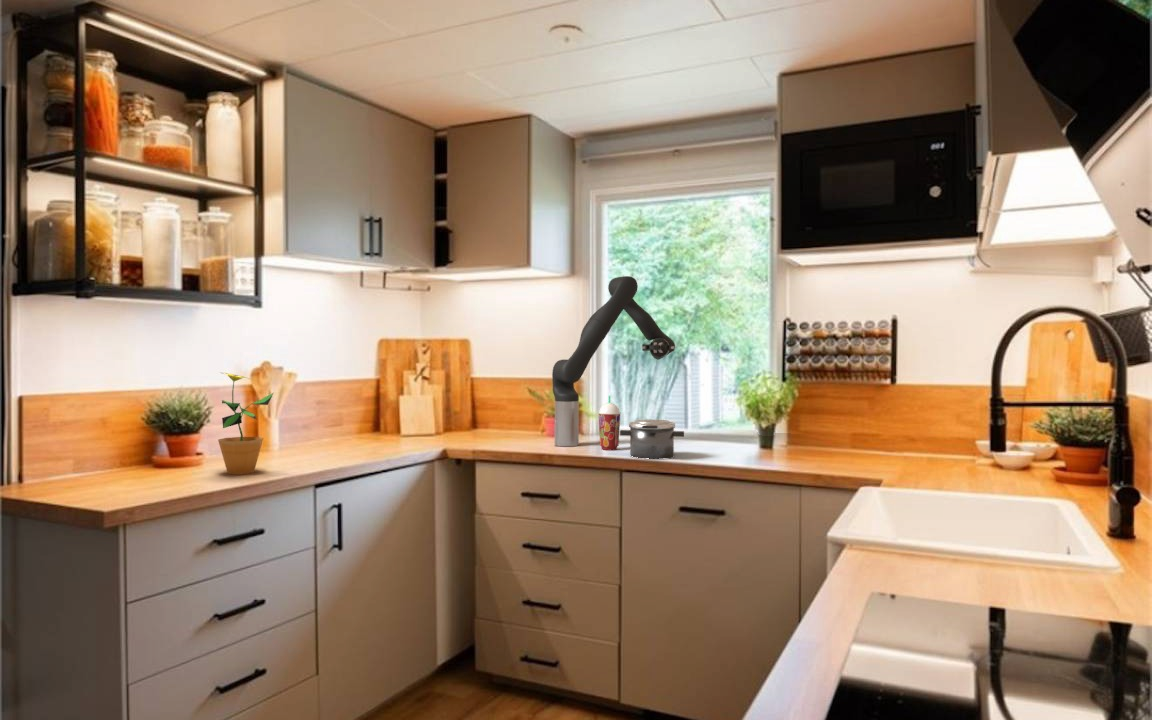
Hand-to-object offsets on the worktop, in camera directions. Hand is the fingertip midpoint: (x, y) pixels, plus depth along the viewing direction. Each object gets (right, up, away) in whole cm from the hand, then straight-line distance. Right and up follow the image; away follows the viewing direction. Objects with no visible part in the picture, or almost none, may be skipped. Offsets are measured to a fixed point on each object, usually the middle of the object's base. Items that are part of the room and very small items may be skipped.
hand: (656, 347), depth 288 cm
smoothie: (-18, -38, -2) cm, 42 cm away
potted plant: (-130, -38, -59) cm, 148 cm away
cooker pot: (-4, -38, -21) cm, 44 cm away
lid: (-4, -28, -22) cm, 36 cm away
